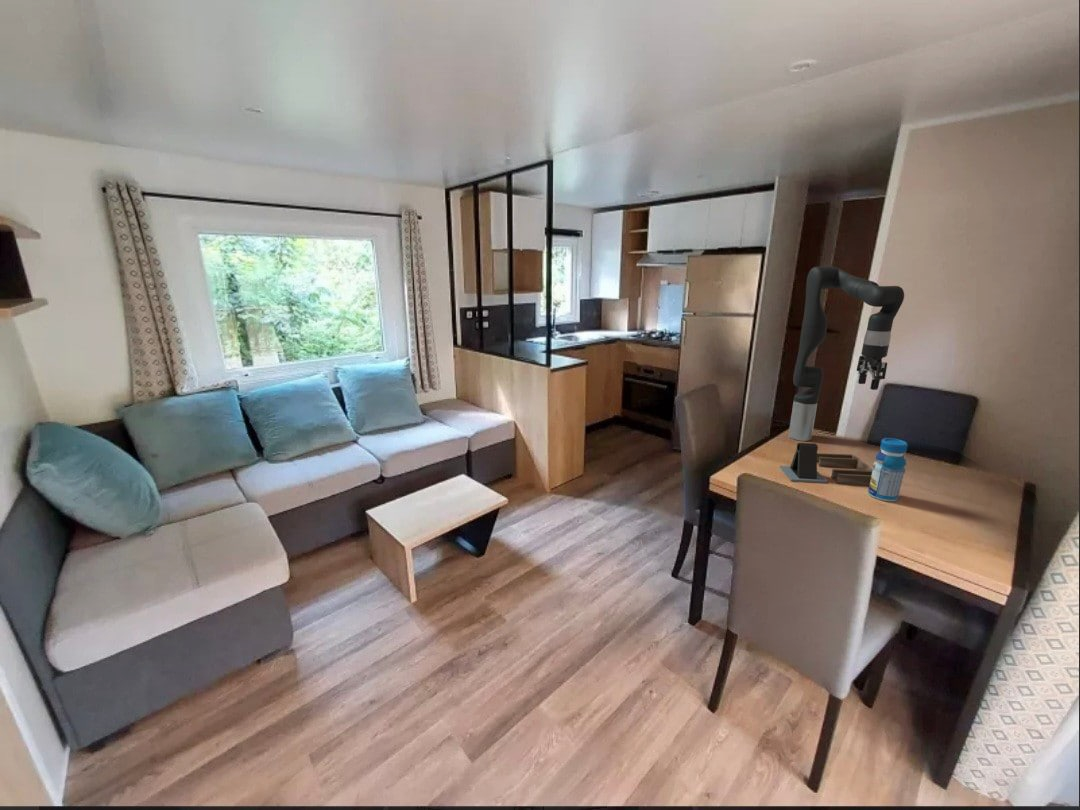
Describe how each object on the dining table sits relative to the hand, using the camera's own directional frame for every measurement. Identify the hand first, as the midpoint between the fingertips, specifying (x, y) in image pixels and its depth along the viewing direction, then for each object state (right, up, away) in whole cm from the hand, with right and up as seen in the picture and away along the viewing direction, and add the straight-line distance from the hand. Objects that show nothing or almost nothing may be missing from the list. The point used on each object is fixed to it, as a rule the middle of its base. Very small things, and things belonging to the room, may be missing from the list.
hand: (867, 386), depth 163 cm
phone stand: (-23, -33, +2) cm, 40 cm away
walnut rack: (-6, -33, +4) cm, 33 cm away
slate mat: (-23, -33, +3) cm, 40 cm away
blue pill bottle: (-5, -38, -14) cm, 41 cm away
